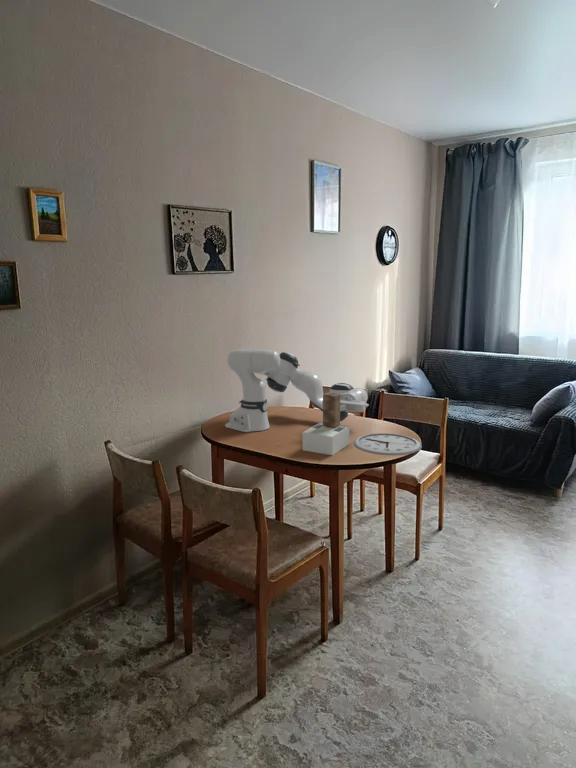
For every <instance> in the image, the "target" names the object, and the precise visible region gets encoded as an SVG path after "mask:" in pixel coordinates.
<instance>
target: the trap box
mask: <svg viewBox="0 0 576 768" xmlns="http://www.w3.org/2000/svg"><path fill="white" fill-rule="evenodd" d="M350 429H351V427H350V425H343V424H340V425H339V426H337V427H328V426H323V421H321V422H319V423H317V424H315V425H313V426H311V427H310V428H308V429H306V430H304V431H302V451H306V452H311V453H316V454H322V455H329V456H334V455H336V454H337V453H338V452H340V451H341V450H343V449H344V448H345V447H347V446H348V445H350V441H351V439H350V435H351V434H350V433H351V430H350Z"/></svg>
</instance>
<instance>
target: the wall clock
mask: <svg viewBox="0 0 576 768" xmlns="http://www.w3.org/2000/svg"><path fill="white" fill-rule="evenodd" d="M353 446H354V447H355V448H356V449H358V450H360V451H362V452H364V453H365V452H366V453H370V454H372V455H373V454H374V455H382V456H402V455H403V456H405V455H409V454H410V455H411V454H414V453H416V452H419V451H420V450H421V449H422V448H423V445H422V443H421V442H420V441H419V440H417V439H415V438H414V437H411V436H407V435H404V434H398V433H397V434H396V433H386V432H385V433H384V432H383V433H381V432H380V433H369V434H365V435H362V436H359V437H357V438H356V439H355V440H353Z"/></svg>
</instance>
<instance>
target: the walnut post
mask: <svg viewBox="0 0 576 768" xmlns="http://www.w3.org/2000/svg"><path fill="white" fill-rule="evenodd" d="M322 422H323V426H328V427H337V426H339V425H341V421H340V394H337V393H330V392H326V393H323V411H322Z"/></svg>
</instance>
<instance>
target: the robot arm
mask: <svg viewBox="0 0 576 768" xmlns="http://www.w3.org/2000/svg"><path fill="white" fill-rule="evenodd" d="M227 364H228V367H229V368H230V370H232V371H233V372H234V373H235V374H236V375H237V376H238V378H239V380H240V382H241V386H242V394H243V399H241V400H239V401H238V404H240V406H239V407H238V408H237V409H236V410H234V411H233V412H231V414H230V415H229V416H230V417H229V421H228V422H227V423H225V425H224V427H225V428H227V429H231V430H234V431H235V430H236V431H239V432H243V433H251V432H260V431H265V430H268V429H270V427H271V426H270V425H271V424H270V423H269V418H268V412H267V410H268V400H267V386H268V388H270V390H271V391H273V392H275V393H284V392H285V391H286V390H287V388H288V385H289V384H290V383H291V384H292V386H293V387H295V388H296V389H297V390H299V391H301V392H302V393H304V394H305V395H306V396H307V398H308V400H309V402H310V403H311V404H312V405H314V407H316V408H317V409H318V410H320V411H321V412H323V394H324V388H323V382H322V379H321V378H320V377H319V376H318V375H317V374H316V373H313V372H310V371H306V370H302V369H300V368H298V367H300V366H301V365H300V364H299V360H298V358H297V357H296V356H295V355H294V354H293V353H292V352H288V351H285V352H284V351H282V352H281V353H280V354H279V353H278V351H277V350H273V349H272V350H271V349H267V348H236V349H231V351H230V352H229V353H228V355H227ZM255 374H257V375H261V376H266V378H265V381H266V383H267V385H266V383H265V382H264V381H263V380H262V379H261V378H258V377H257V376H256V375H255ZM329 393H337V394H340V422H343V421H344V420H346V419H347V417H348V416H349V413H350V412H351V413H352V412H356V413H363V412H365V410H366V409H367V408H368V407H369V406H370V405H369V403H367V401H368V399H369V397H368V396H369V395H368V393H367V391H366V389H365V388H362V387H361V388H360V387H359V388H357V387H353V386H352V385H350V384H348V383H345V382H339V383H338V382H337V383H335V384H333V385H331V386H330V388H329Z"/></svg>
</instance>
